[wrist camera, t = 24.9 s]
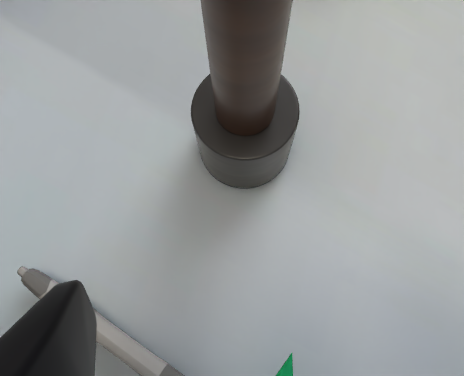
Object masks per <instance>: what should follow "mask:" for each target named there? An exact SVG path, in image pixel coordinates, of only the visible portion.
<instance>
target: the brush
mask: <svg viewBox="0 0 464 376" xmlns="http://www.w3.org/2000/svg"><path fill="white" fill-rule="evenodd" d="M292 1H293V0H201V7H202V14H203V22H204V29H205V37H206V44H207V52H208V59H209V67H210V74H209V75H208V76H207V77H206V78H205V79H204V80H203V81H202V83H201V84H200V85H199V87H198V88H197V90H196V92H195V94H194V97H193V100H192V105H191V118H192V123H193V127H194V131H195V134H196V138H197V142H198V146H199V150H200V154H201V157H202V160H203V163H204V165H205V166H206V168H207V170H208V171H209V172H210V173H211V174H212V175H213V176H214V177H215V178H216V179H218V180H219V181H221V182H222V183H224V184H227V185H229V186H233V187H237V188H252V187H257V186H260V185H263V184H265V183H267V182H269V181H271V180H272V179H273V178H274V177H276V176H277V175H278V174H279V173H280V171H281V170H282V169H283V167H284V165H285V164H286V161H287V159H288V155H289V152H290V149H291V145H292V142H293V138H294V135H295V131H296V128H297V124H298V120H299V103H298V98H297V96H296V93H295V91H294V89H293V87H292V86H291V84H290V83H289V82H288V81H287V79H286V78H285V77H284V76H282V75H281V70H282V63H283V57H284V51H285V45H286V38H287V32H288V26H289V20H290V13H291V7H292Z"/></svg>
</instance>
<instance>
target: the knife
mask: <svg viewBox="0 0 464 376" xmlns="http://www.w3.org/2000/svg"><path fill="white" fill-rule="evenodd" d="M276 376H293V367H292V353H291V355H290V356H289V358H288V359H287V360H286V362H285V363H284V365H283V366H282V368H281V369H280V370H279V372H278V373H277V375H276Z"/></svg>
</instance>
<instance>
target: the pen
mask: <svg viewBox="0 0 464 376" xmlns="http://www.w3.org/2000/svg"><path fill="white" fill-rule="evenodd" d="M17 273H18V275H20V276H21V277H22V279H21V281H22V283H23V284H24V285H25V286H26V287H27V288H28V289H29V290H30V291H31V292H32V293H33V294H34V295H35V296H37V297H38V298H39V299H41V298H42V297H43V296H44V295H45V294H46V293H47V292H48V291H49V290H50V289H51V288H53V287H54V286H55V285H56V284H59V283H58V282H56V281H54V280H53V279H51V278H50V277H49V276H47V275H45V274H43V273H42V272H40V271H38V270H36V269H27V268H26V267H20V268H19V269H18V271H17ZM93 309H94V308H93ZM94 312H95V315H96V320H97V333H96V342H97V343H99V344H100V345H101V346H103V347H104V348H105V349H107V350H108V351H109V352H111V353H112V354H113V355H115V356H116V357H117V358H119V359H120V360H121V361H123V362H124V363H125V364H127V365H128V366H129V367H131V368H132V369H133V370H135V371H136V372H137V373H139V374H140V375H141V376H184V375H183V374H182V373H180V372H179V371H178V370H176V369H175V368H174V367H172V366H171V365H169V364H168V363H167V362H165V361H164V360H162V359H160V358H159V357H157V356H156V355H154V354H153V353H151V352H150V351H149V350H147V349H146V348H145V347H143V346H142V345H141V344H139V343H138V342H137V341H135V340H134V339H132V338H131V337H130V336H128V335H127V334H126V333H124V332H123V331H122V330H120V329H119V328H118V327H116V326H115V325H114V324H112V323H111V322H110V321H108V320H107V319H105V318H104V317H103V316H102V315H101V314H99V313H98V312H97V311H96V310H95V309H94Z"/></svg>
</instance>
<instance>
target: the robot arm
mask: <svg viewBox="0 0 464 376" xmlns="http://www.w3.org/2000/svg"><path fill="white" fill-rule="evenodd" d="M96 333H97V320H96V315H95V312H94V309H93V307H92V305H91V302H90V300H89V297H88V295H87V293H86V290H85V288H84V286H83V284H82V283H81V282H80V281H78V280H74V281H69V282H64V283H59V284H56V285H55V286H54V287H53V288H51V289H50V290H49V291H48V292H47V293H46V294H45V295H44V296H43V297H42V298H41V299H40V300H39V301H38V302H37V303H36V304H35V305H34V306H33V307H32V308H31V309H30V310H29V311H28V312H27V313H26V314H25V315H23V316H22V317H21V318H20V319H19V320H18V321H17V322H16V323H15V324H14V325H13V326H12V327H11V328H10V329H9V330H8V331H7V332H6V333H5V334H4V335H3V336H2V337H1V338H0V376H95V355H96Z"/></svg>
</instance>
